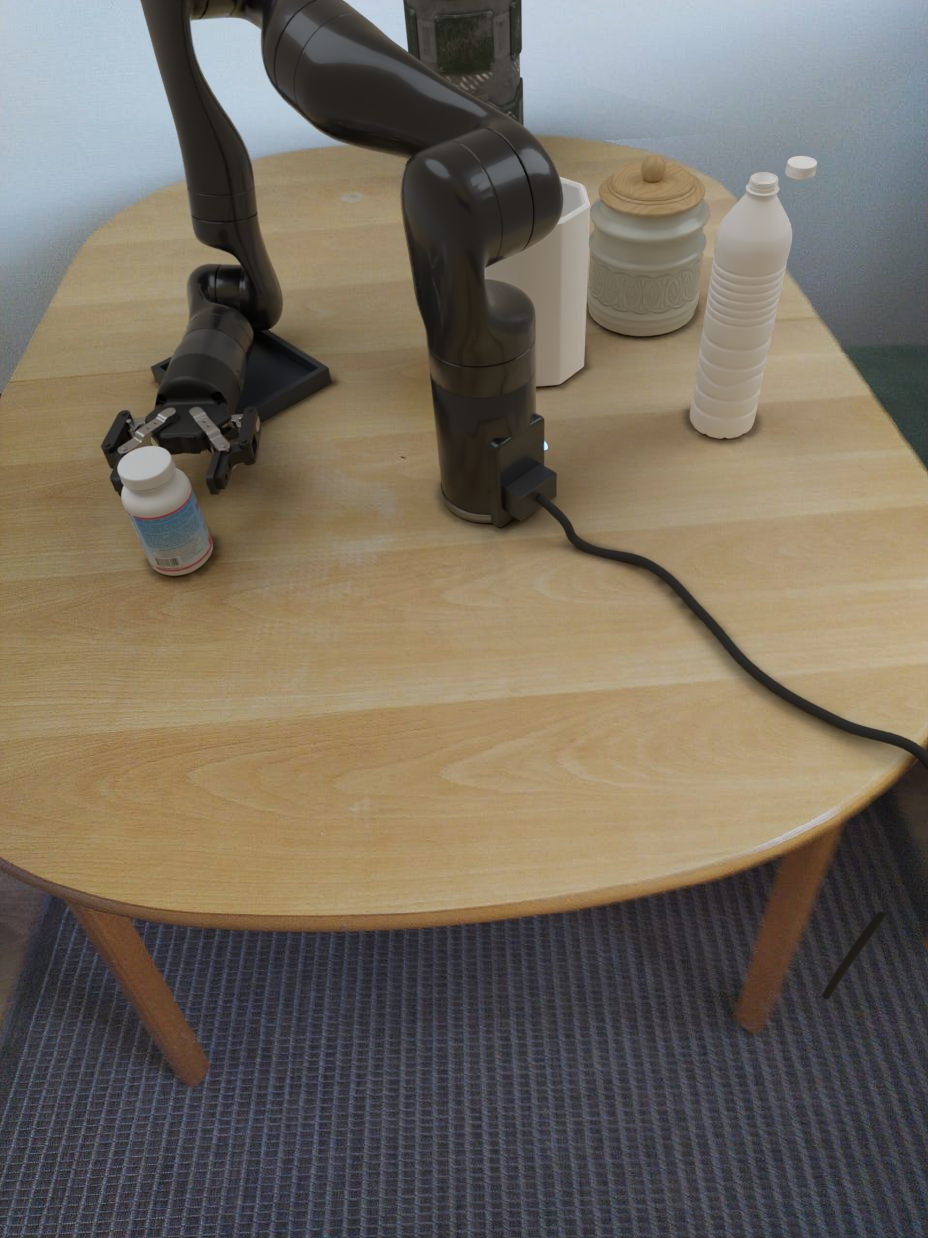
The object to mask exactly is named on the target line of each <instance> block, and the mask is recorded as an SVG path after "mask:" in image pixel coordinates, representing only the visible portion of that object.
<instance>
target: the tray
mask: <svg viewBox="0 0 928 1238" xmlns="http://www.w3.org/2000/svg"><path fill="white" fill-rule="evenodd" d="M253 334H254V343H253V348H252V352H251V354H250V358H249V361H248V364H247V367H246V374H245V381H244V388H243V391H242V392H241V395H240V398H239V401H238V405H237V408H236V411H235V414H234V415H237V414H243V412H244V409H245V408H247V407H249V406H253V407H255V408H256V410H257V413H258V417H259V420H260V424H261V423H263V422H265V421H267V420H268V419H270V418H271V417H273V416H275V415H277V414H279V413H281V412H282V411H284V410H286V409H287V408H289V407H291V406H293V405H295V404H297V403H298V402H300V401H302V400H303V399H305V398H307V397H309V396H311V395H312V394H314V393H316V392H317V391H319V390H321V389H323V388H324V387H325V388H326V386H328V385H330V384H331V383H332V378H331V373H330V368H329V367H328V366H327V365H325V364H324V363H322V362H321V361H319V360H317V359H316V358H314V357H312V356H311V355H309V354H308V353H307V352H305V351H303V350H301V349H299V347H296V346H295V345H294V344H292V343H290V342H288V341H287V340H285V339H284V338H282V337H281V336H279V335H277V334H276V333H274V332H273V331H272V330H270V329H269V330H263V331H255V330H253ZM172 356H173V355H171V356H169V357H167V358H166V359H163V360H161V361H159V362H157V363H155V364H154V365H151V366H150V370H151V373H152V376H153V379H154V381H155V383H157V384H158V385H159V386H160V385H161V383H162V380H163V378H164V375H165V373H166V371H167V368H168V366H169V363H170V361H171V358H172ZM226 437H228V438H229V439H231V440H233V439H235V438H236V437H239V432H238V429H236V428H234V429H233V431H232V432H231V433H230V434H228V435H227V436H226Z"/></svg>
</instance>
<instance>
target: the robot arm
mask: <svg viewBox="0 0 928 1238" xmlns="http://www.w3.org/2000/svg"><path fill="white" fill-rule="evenodd" d="M140 5H141V8H142V12H143V16H144V20H145V23H146V27H147V31H148V34H149V38H150V42H151V45H152V50H153V54H154V57H155V60H156V64H157V67H158V71H159V75H160V78H161V81H162V84H163V88H164V92H165V96H166V98H167V103H168V106H169V110H170V113H171V116H172V119H173V124H174V127H175V131H176V135H177V139H178V144H179V149H180V154H181V159H182V165H183V170H184V178H185V185H186V191H187V192H186V193H187V198H188V205H189V212H190V219H191V226H192V230H193V233H194V236H195V238H196V240H197V241H198V242H199V243H201V244H202V245H204V246H207V247H208V248H212V249H214V250H218V251H222V252H225V253H227V254H229V255H231V256H233V257H234V258H235V259H236V260H237V262H238V263H239V264H233V263H231V264H229V263H204V264H200V265H199V266H197V267H195V268H193V270H192V271H191V272H190V274H189V275H188V278H187V281H186V299H187V307H188V318H187V319H188V320H187V325H186V329H185V330H184V333H183V336H182V338H181V341H180V343H179V344H178V346H177V347H176V348H175V350H174V351H173V354H172V355H171V356H172V358H171V361H170V363H169V366H168V368H167V371H166V373H165V375H164V378H163V380H162V383H161V385H159V388H158V391H157V393H156V398H155V404H154V408H153V409H152V411H150V412H149V413H147V415H146V416H144V417H142V416H141V417H139V416H138V417H134V416H132V414H131V411H130V410H128V409H124V410H120V411H119V412H118V413H117V414H116V417H115V418H114V420H113V422H112V424H111V426H110V427H109V430H108V431H107V433H106V435H105V437H104V439H103V440H102V443H101V445H100V448H101V450H102V453H103V455H104V457H105V459H106V462H107V465H108V467H109V468H110V469H111V472H110V475H109V480H110V482H111V484H112V487H113V489H114V491H115V493H117V494H118V497H120V498H121V493H122V489H123V486H124V485H123V484H122V482H121V478H120V476H119V474H118V470H117V467H118V464H119V462H120V460H121V459H122V458H123V457H124V456H125V455H126V454H128V453H129V452H131V451H133V450H135V449H138V448H141V447H146V446H154V445H153V443H152V439H153V440H154V442H155V443H156V444H157V447H161V448H164V449H166V450H167V451H168V452H169V453H170V455H171V456H176V455H182V454H189V455H201V453H202V452H205V451H206V452H207V453H208V454H209V456H210V457H211V458H210V462H209V465H208V468H207V471H206V473H205V474H206V475H205V483H206V486H207V488H208V491H209V494H210V495H211V496H219V495H220V494H221V491H222V490H225V489H226V488H227V487H228V486H229V482H230V479H231V475H232V472H233V470H235V469H236V468H237V465H239V464H244V465H245V466H253V465H255V464H256V463H257V459H258V454H259V449H260V448H259V447H260V441H261V437H262V431H263V428H262V424H261V423H260V420H259V417H258V413H257V410H256V408H255V407H253V406H249V407H247V408H245V409H244V412H243V414H237V415H234V414H235V411H236V408H237V405H238V401H239V398H240V395H241V392H242V391H243V388H244V381H245V374H246V367H247V364H248V361H249V358H250V354H251V352H252V348H253V343H254V334H253V330H255V331H263V330H269V331H270V330H271V329H273V328H275V326H276V325H277V323H278V322H279V320H280V319H281V316H282V314H283V309H284V297H283V291H282V287H281V285H280V281H279V278H278V276H277V273H276V271H275V268H274V266H273V263H272V261H271V257H270V256H269V253H268V250H267V247H266V244H265V241H264V237H263V235H262V231H261V226H260V221H259V212H258V202H257V194H256V183H255V174H254V168H253V163H252V159H251V156H250V152H249V150H248V147H247V144H246V143H245V141H244V138H243V137H242V135H241V133H240V131H239V130H238V129H237V127H236V125H235V123H234V122H233V120H232V119H231V117H230V116H229V114H228V112H226V110H225V108H224V107H223V106H222V104H221V102H220V101H219V99H218V97H217V96H216V94H215V93H214V92H213V89H212V88H211V86H210V85H209V83H208V80H207V79H206V77H205V74H204V72H203V70H202V68H201V65H200V63H199V60H198V56H197V52H196V49H195V45H194V39H193V33H192V24H191V23H192V21H205V20H217V19H240V20H244V21H247V22H249V23H251V25H254V27H257V28H258V29H259V30H260V54H261V60H262V65H263V69H264V71H265V74H266V76H267V79H268V82H269V83H270V84H271V86H272V87H273V89H274V90H275V92H276V93H277V94H278V95H279V97H280V98H281V99H282V100H283V101H285V103H286V104H287V105H289V107H291V108H292V109H293V110H294V111H295V112H296V113H297V114H299V115H300V116H301V117H302V118H303V119H304V121H306V122H307V123H308V124H309V125H311V126H312V127H313V128H314V129H315V130H317V131H318V132H320V133H321V134H323V135H325V136H327V137H329V138H330V139H332V140H334V141H337V142H340V143H342V144H346V145H348V146H351V147H355V148H358V149H362V150H366V151H370V152H375V153H379V154H383V155H387V156H393V157H398V158H400V159H401V158H402V159H405V160H407V161H406V163H405V165H404V167H403V169H402V174H401V179H400V189H399V191H400V192H399V198H400V210H401V219H402V225H403V232H404V236H405V242H406V246H407V253H408V260H409V265H410V272H411V279H412V284H413V286H412V287H413V292H414V297H415V301H416V306H417V308H418V311H419V314H420V317H421V320H422V324H423V327H424V330H425V338H426V347H427V349H426V350H427V358H428V367H429V379H430V388H431V398H432V407H433V408H432V409H433V417H434V426H435V435H436V437H435V438H436V446H437V454H438V464H439V469H440V470H439V473H440V492H441V498H442V501H443V503H444V505H445V507H447V509H448V510H449V511H450V512H451V513H452V514H454V515H456V516H457V517H459V518H461V519H464V520H467V521H470V522H475V523H481V524H482V523H483V524H493V525H494V526H496V527H497V528H503V527H505V526H506V525H507V524H509V523H510V522H512V521H513V520H514V519H517V520H519V521H520V522H523V521H524V520H526V519H527V518H528V517H530V516H531V515H533V514H534V513H536V512H537V511H538V510H539V509H541V508H543V509H545V510H546V511H547V512H548V513H549V514H550V515H551V516H552V517H553V518H554V519H555V520H556V521H557V522H558V523H559V524H560V526H561V528H563V530H564V533H565V536H566V538H567V540H568V541H569V543H571V544H572V545H574V546H575V547H576V548H577V549H579V550H581V551H582V552H584V553H587V554H589V555H593V556H597V557H601V558H604V559H610V560H614V561H620V562H627V563H630V564H635V565H636V566H639V567H642V568H644V569H645V570H647V571H649V572H650V573H653V574H654V575H656V576H657V577H658V578H660V579H661V580H662V581H663V582H665V584H667V585H668V586H669V587H670V588H671V589H672V590H673V591H674V592H675V593H676V595H678V597H679V598H680V599H681V600H682V601H683V603H684V604H685V605H686V606H687V607H688V608H689V609H690V610H691V611H692V612H693V613H694V615H695V616H696V617H697V618H698V619H699V620H700V621H701V622H702V623H703V624H704V625H705V626H706V627H707V628H708V630H709V631H710V632H711V633H712V635H714V637H715V638H716V639H717V640H718V642H719V643H720V644H721V646H722V647H723V648H724V649H725V650H726V652H727V653H728V654H729V655H730V657H732V659H733V660H734V661H735V662H736V663H737V664H738V665H739V667H741V668H742V669H743V670H744V671H745V672H746V673H747V674H749V675H750V676H751V677H752V678H753V679H754V680H755V681H757V682H758V683H759V684H761V685H762V686H763V687H765V688H766V689H768V690H769V691H771V692H772V694H775V695H776V696H777V697H779V698H781V699H782V700H784V701H786V702H787V703H788V704H790V705H792V706H794V707H796V708H797V709H799V710H801V711H803V712H805V713H806V714H809V715H811V716H813V717H814V718H817V719H819V720H821V721H823V722H825V723H826V724H828V725H831V726H833V727H835V728H837V729H839V730H841V731H843V732H846V733H848V734H850V735H854V736H858V737H861V738H864V739H869V740H872V741H876V742H880V743H884V744H887V745H891V746H894V747H897V748H900V749H902V750H903V751H906V752H907V753H909V754H911V755H913V756H914V757H915V758H916V759H917V760H918V761H919V762H920V763H921V764H922V765H923V767H924V768H925V769H926V770H928V751H927V750H926V749H925V748H924V747H923V746H921V745H920V744H919V743H917V742H915V741H913V740H911V739H910V738H907V737H904V736H902V735H900V734H897V733H894V732H889V731H885V730H882V729H878V728H874V727H869V726H866V725H862V724H858V723H855V722H852V721H850V720H848V719H845V718H843V717H841V716H839V715H837V714H835V713H833V712H831V711H829V710H827V709H825V708H823V707H821V706H819V705H817V704H815V703H813V702H811V701H809V700H807V699H806V698H804V697H802V696H800V695H799V694H797V693H795V692H793V691H791V690H790V689H788V688H787V687H786V686H784V685H782V684H780V683H779V681H777V680H775V679H773V678H772V677H771V676H770V675H768V674H767V673H766V672H765V671H763V670H762V669H760V668H759V667H758V666H757V665H756V664H755V663H753V662H752V661H751V660H750V659H749V658H748V657H747V656H746V654H744V653H743V651H741V649H740V648H739V647H738V646H737V645H736V644H735V642H734V641H733V639H731V637H730V636H729V635H728V634H727V632H726V631H725V630H724V629H723V628H722V626H721V625H720V624H719V622H717V621H716V619H714V617H713V616H712V615H710V613H709V612H708V611H707V610H706V609H705V608H704V607H703V606H702V605H701V604H700V603H699V602H698V601H697V600H696V599H695V598H694V596H693V595H692V594H691V593H690V592H689V590H688V589H686V587H685V586H684V585H683V584H682V583H681V582H680V581H679V580H678V579H677V578H676V577H675V576H674V575H673V574H672V573H670V572H669V571H668V570H667V569H665V568H664V567H663V566H661V565H660V564H658V563H656V562H654V560H652V559H649V558H646V557H645V556H642V555H639V554H635V553H632V552H627V551H622V550H614V549H608V548H604V547H600V546H596V545H594V544H591V543H589V542H587V541H585V540H584V539H582V538H581V537H580V536H578V535H577V533H576V532H575V529H574V526H573V524H572V522H571V521H570V520H569V518H568V517H567V516H566V515H565V513H563V511H562V510H560V508H558V507H557V506H556V505H555V504H554V503H553V502H552V500H553V499H554V498H556V497H557V492H558V491H557V487H558V485H557V483H558V479H557V478H558V473H557V472H556V471H554V470H552V469H551V468H549V467H547V466H546V465H545V451H546V450H548V448H549V447H548V444H547V442H546V441H545V433H546V432H545V428H546V427H545V421H546V420H545V417H543V416H542V415H541V414H539V413H537V386H536V314H535V308H534V305H533V302H532V301H531V299H530V298H529V296H528V295H527V294H526V293H525V292H523V291H522V290H521V289H519V288H517V287H515V286H513V285H511V284H508V283H505V282H502V281H497V280H490V279H485V268H486V267H488V266H491V265H493V264H495V263H497V262H499V261H502V260H504V259H506V258H508V257H510V256H513V255H515V254H517V253H519V252H522V251H524V250H526V249H528V248H529V247H531V246H533V245H534V244H536V243H538V242H539V241H541V240H542V239H543V238H545V237H546V236H547V235H548V234H550V233H551V231H552V230H553V229H554V228H555V226H556V225H557V223H558V221H559V219H560V217H561V214H562V210H563V190H562V184H561V180H560V177H561V176H560V175H559V171H558V169H557V166H556V165H555V163H554V161H553V158H552V157H551V155H550V153H549V152H548V150H547V149H546V147H544V145H543V144H542V143H541V142H540V141H539V140H538V139H537V137H536V136H535V135H534V134H533V133H532V132H531V131H530V130H529V129H528V128H527V127H525V126H523V125H521V124H520V123H518V122H517V121H515V120H514V119H512V118H511V117H509V116H508V115H506V114H504V113H502V112H501V111H499V110H497V109H495V108H494V107H492V106H490V105H488V104H487V103H485V102H483V101H481V100H479V99H478V98H476V97H474V96H472V95H471V94H469V93H467V92H465V91H464V90H462V89H460V88H459V87H457V86H455V85H454V84H452V83H451V82H449V81H447V80H446V79H444V78H443V77H441V76H440V75H439V74H437V73H436V72H434V71H433V70H432V69H430V68H429V67H428V66H426V65H425V64H424V63H422V62H421V61H420V60H418V59H417V58H416V57H414V56H413V55H411V54H410V53H409V52H408V50H406V49H405V48H403V47H402V46H401V45H399V44H398V43H397V42H395V41H394V40H392V39H391V38H390V37H389V36H388V35H387V34H386V33H384V32H383V31H382V30H381V29H380V28H379V27H378V26H377V25H376V24H374V23H373V22H372V21H370V20H369V19H368V18H367V17H365V16H364V15H363V14H362V13H360V12H359V11H358V10H357V9H355V8H354V7H353V6H352V5H350V4H349V3H348V2H346V1H345V0H140ZM234 428H236V429H238V432H239V435H238V436H237V437H238V438H237V443H233V444H231V443H230V442H229V441H228V440H227V439H226V438H225V437H228V436H227V435H228V434H230V433H231V432H232V431H233V429H234ZM887 915H888V913H886V912H884V911H878V912H877V913H876V914H875V915H874V917H873V918H872V919H871V920H870V922H869V923H868V924H867V926H866V927H865V928H864V929H863V930H862V932H861V933H860V935H859V936H858V937H857V938H856V940H855V942H853V945H852V946H851V948H850V949H849V950H848V952H847V953H846V955H845V956H844V957H843V959H842V961H840V963H839V965H838V967H837V969H836V970H835V972H834V973H833V975H832V977H831V978H830V979H829V982H828V983H827V984H826V986H825V989H824V990H823V992H822V993H821V997H822V998H823V999H824V1000H830V999H831V997H832V995H833V993H834V992H835V990H836V989H837V987H838V986H839V984H840V982H841V981H842V979H843V977H844V976H845V975H846V973H847V972H848V971H849V969H850V967H851V966H852V964H853V963H854V961H855V960H856V959H857V958H858V956H859V954H860V953H861V952H862V951H863V949H864V948H865V947H866V945H867V944H868V943H869V941H870V939H871V938H872V937H873V935H874V934H875V933H876V931H877V930H878V928H879V926H880V925H882V923H883V921H884V920H885V918H886V917H887Z"/></svg>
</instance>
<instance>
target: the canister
mask: <svg viewBox="0 0 928 1238" xmlns="http://www.w3.org/2000/svg"><path fill="white" fill-rule="evenodd" d="M402 3H403V13H404V23H405V33H406V34H405V35H406V44H407V45H406V46H407V52H409V53H410V54H411V55H413V56H414V57H416V58H417V59H418V60H420V61H421V62H422V63H424V64H425V65H426V66H428V67H429V68H430V69H432V70H433V71H434V72H436V73H437V74H439V75H440V76H441V77H443V78H444V79H446V80H447V81H449V82H451V83H452V84H454V85H455V86H457V87H459V88H460V89H462V90H464V91H465V92H467V93H469V94H471V95H472V96H474V97H476V98H478V99H479V100H481V101H483V102H485V103H487V104H488V105H490V106H492V107H494V108H495V109H497V110H499V111H501V112H502V113H504V114H506V115H508V116H509V117H511V118H512V119H514V120H515V121H517V122H518V123H520V124H521V125H523V126H524V125H525V124H524V123H525V122H524V121H525V120H524V119H525V118H524V78H523V77H522V76H521V57H520V56H521V54H522V51H523V18H522V17H523V12H522V11H523V9H522V8H523V6H522V0H402ZM524 127H525V126H524Z"/></svg>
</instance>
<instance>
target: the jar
mask: <svg viewBox="0 0 928 1238" xmlns="http://www.w3.org/2000/svg"><path fill="white" fill-rule="evenodd" d="M705 195H706V187H705V184H704V182H703V181H702V180H701V179H700V178H699V177H698V176H696V175H694V174H692V172H690V171H689V170H687V169H686V168H685V167H683V166H681V165H677V164H675V163H670V162H666V161H665V159H664V158H663V157H662V156H661V155H659V154H651V155H648V156H646V157H645V159H644V160H643V161H641V162H636V163H632V164H629V165H628V164H627V165H625V166H623V167H622V168H620V169H618V170H616V172H614V173H612V174H610V175H609V176H607V177H606V178H604V180H602V182H601V183H600V185H599V187H598V197H597V198H596V199H595V201H594V202H593V203H592V205H591V206H590V221H591V222H592V224H593V230H592V232H591V233H590V234H589V266H588V283H587V306H588V312H589V315H590V316H591V318H592V319H593V320H594V321H595V322H596V323H597V324H598V325H599V326H601V327H602V328H605V329H607V330H609V331H611V332H615V333H617V334H621V335H626V336H634V337H652V336H653V337H654V336H658V335H659V336H660V335H663V334H667V333H671V332H674V331H676V330H678V329H680V328H682V327H683V326H685V325H686V324H688V323H689V322H690V321H691V320H692V318H693V316H694V314H695V311H696V308H697V307H698V303H699V299H700V294H701V293H700V292H701V291H700V280H701V273H702V265H703V259H704V251H705V250H706V247H707V237H706V234H705V233H704V227H705V226H706V225H707V224H708V222H709V220H710V218H711V209H710V206H709V204H708V202H707V201H706V200H705V199H704V198H705Z"/></svg>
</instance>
